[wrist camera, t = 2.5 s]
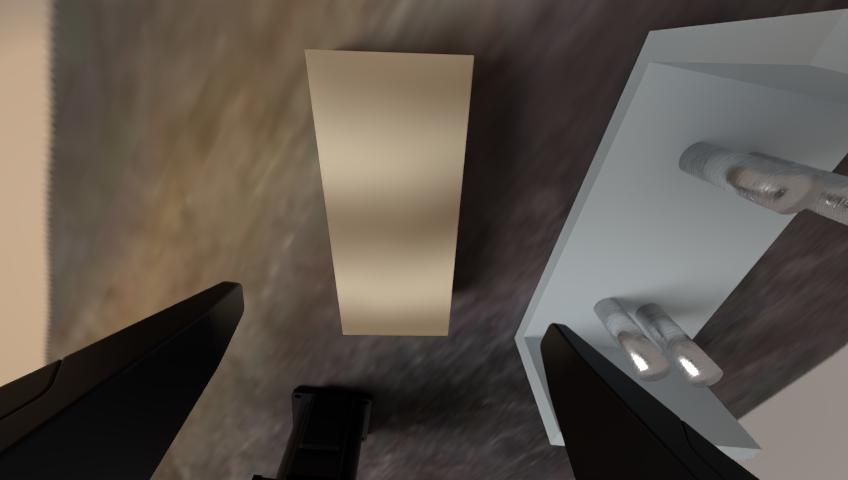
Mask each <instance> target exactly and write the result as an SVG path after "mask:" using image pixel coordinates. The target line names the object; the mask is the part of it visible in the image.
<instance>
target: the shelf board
mask: <svg viewBox="0 0 848 480" xmlns="http://www.w3.org/2000/svg"><path fill="white" fill-rule="evenodd" d="M305 57H306V64H307V71H308V79H309V86H310V94H311V101H312V108H313V116H314V123H315V131H316V138H317V145H318V153H319V160H320V168H321V175H322V182H323V190H324V197H325V205H326V212H327V219H328V227H329V234H330V241H331V249H332V256H333V264H334V271H335V278H336V286H337V293H338V301H339V308H340V315H341V323H342V330H343V335H424V336H448V327H449V316H450V306H451V295H452V284H453V274H454V263H455V253H456V242H457V232H458V221H459V210H460V200H461V189H462V179H463V168H464V158H465V147H466V136H467V126H468V115H469V105H470V94H471V84H472V73H473V62H474V55H449V54H421V53H393V52H364V51H336V50H308V49H305Z"/></svg>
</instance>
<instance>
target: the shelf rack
mask: <svg viewBox="0 0 848 480" xmlns="http://www.w3.org/2000/svg"><path fill="white" fill-rule="evenodd" d="M847 153H848V9H841V10H832V11H823V12H814V13H806V14H797V15H788V16H779V17H770V18H761V19H753V20H744V21H735V22H726V23H717V24H708V25H700V26H691V27H682V28H673V29H664V30H655V31H650V32H649V34H648V36H647V38H646V41H645V43H644V45H643V47H642V50H641V52H640V54H639V57H638V59H637V61H636V63H635V66H634V68H633V70H632V72H631V75H630V77H629V79H628V82H627V84H626V86H625V88H624V91H623V93H622V95H621V97H620V100H619V102H618V104H617V106H616V109H615V111H614V113H613V116H612V118H611V120H610V122H609V125H608V127H607V129H606V131H605V134H604V136H603V138H602V140H601V143H600V145H599V147H598V150H597V152H596V154H595V156H594V159H593V161H592V163H591V165H590V168H589V170H588V172H587V175H586V177H585V179H584V181H583V184H582V186H581V188H580V190H579V193H578V195H577V197H576V199H575V202H574V204H573V206H572V209H571V211H570V213H569V215H568V218H567V220H566V222H565V224H564V227H563V229H562V231H561V234H560V236H559V238H558V240H557V243H556V245H555V247H554V249H553V252H552V254H551V256H550V258H549V261H548V263H547V265H546V268H545V270H544V272H543V274H542V277H541V279H540V281H539V283H538V286H537V288H536V290H535V293H534V295H533V297H532V299H531V302H530V304H529V306H528V308H527V311H526V313H525V315H524V317H523V320H522V322H521V324H520V327H519V329H518V331H517V333H516V336H515V341H516V344H517V347H518V350H519V353H520V356H521V359H522V362H523V364H524V367H525V370H526V373H527V376H528V379H529V382H530V385H531V388H532V391H533V394H534V397H535V400H536V403H537V405H538V408H539V411H540V414H541V417H542V420H543V423H544V426H545V429H546V432H547V435H548V438H549V441H550V443H551V445H562V446H565V444H564V440H563V437H562V434H561V431H560V428H559V424H558V421H557V418H556V415H555V412H554V408H553V405H552V402H551V398H550V394H549V390H548V385H547V380H546V375H545V370H544V365H543V361H542V356H541V351H540V343H541V340H542V338H543V336H544V334H545V332H546V330H547V328H548V326H549V325H550V324H551V323H559V324H564V325H566V326H568V327H569V328H570V329H571V330H573V331H574V332H575V333H576V334H577V335H579V336H580V337H581V338H582V339H584V340H585V341H586V342H587V343H589V344H590V345H591V346H592V347H593V348H595V349H596V350H597V351H598V352H600V353H601V354H602V355H603V356H605V357H606V358H607V359H608V360H609V361H611V362H612V363H613V364H614V365H616V366H617V367H618V368H619V369H621V370H622V371H623V372H624V373H625V374H627V375H628V376H629V377H630V378H632V379H633V380H634V381H635V382H637V383H638V384H639V385H640V386H642V387H643V388H644V389H645V390H646V391H648V392H649V393H650V394H651V395H653V396H654V397H655V398H656V399H658V400H659V401H660V402H661V403H662V404H664V405H665V406H666V407H667V408H669V409H670V410H671V411H672V412H674V413H675V414H676V415H677V416H678V417H680V419H681V420H683V421H685V422H686V423H687V424H688V425H690V426H691V427H692V428H693V429H695V430H696V431H697V432H698V433H699V434H701V435H702V436H703V437H704V438H706V439H707V440H708V441H710V442H711V443H712V444H713V445H715V446H716V447H717V448H718V449H720V450H721V451H722V452H723V453H725V454H726V455H727V456H729V457H730V458H731V459H733V460H746V461H748V460H749V459H751V458H752V457H753V456H755V455H756V454H757V453H758V452H760V451H761V450H762V449H761V448H760V447H759V445H758V444H757V443H756V442H755V441H754V440H753V439H752V438H751V436H750V435H749V434H748V433H747V432H746V431H745V429H744V428H743V427H742V426H741V425H740V424H739V423H738V421H737V420H736V419H735V418H734V417H733V416H732V415H731V413H730V412H729V411H728V410H727V409H726V408H725V407H724V405H723V404H722V403H721V402H720V401H719V400H718V399H717V397H716V396H715V395H714V394H713V393H712V392H711V391H710V389H709V388H708V387H707V386H710V385H713V384H715V383H716V382H718V381H719V380H720V379H721V378H722V376H723V371H722V370H721V369H720V368H719V367H718V366H717V365H716V364H715V363H714V362H713V361H712V360H711V359H710V358H709V357H708V356H707V355H706V353H705V352H704V351H703V350H702V349H701V348H700V347H699V346H698V345H697V344H696V343H695V342H694V341H693V340H692V339H693V338H694V337H695V335H696V334H697V333H698V332H699V331H700V329H701V328H702V327H703V326H704V325H705V323H706V322H707V321H708V320H709V319H710V317H711V316H712V315H713V314H714V313H715V311H716V310H717V309H718V308H719V307H720V305H721V304H722V303H723V302H724V301H725V299H726V298H727V297H728V296H729V295H730V293H731V292H732V291H733V290H734V289H735V287H736V286H737V285H738V284H739V283H740V281H741V280H742V279H743V278H744V277H745V275H746V274H747V273H748V272H749V271H750V269H751V268H752V267H753V266H754V265H755V263H756V262H757V261H758V260H759V259H760V257H761V256H762V255H763V254H764V253H765V251H766V250H767V249H768V248H769V247H770V245H771V244H772V243H773V242H774V241H775V239H776V238H777V237H778V236H779V235H780V233H781V232H782V231H783V230H784V229H785V227H786V226H787V225H788V224H789V223H790V221H791V220H792V219H793V218H794V217H795V215H796V214H797V213H798V212H800V211H802V210H804V209H807V210H810V211H812V212H815V213H817V214H820V215H822V216H825V217H828V218H830V219H833V220H835V221H838V222H840V223H843V224H845V225H848V177H847V176H843V175H840V174H836V173H832V171H833V170H834V169H835V167H836V166H837V165H838V164H839V163H840V161H841V160H842V159H843V158H844V157H845V155H846V154H847Z"/></svg>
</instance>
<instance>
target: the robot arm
mask: <svg viewBox="0 0 848 480" xmlns="http://www.w3.org/2000/svg"><path fill="white" fill-rule="evenodd" d="M243 312H244V299H243V291H242V286H241V284H240V283H236V282H228V281H224V282H221V283H219V284H217V285H215V286H213V287H211V288H209V289H206V290H204V291H202V292H200V293H198V294H196V295H194V296H192V297H190V298H188V299H185V300H183V301H181V302H179V303H177V304H175V305H173V306H171V307H169V308H166V309H164V310H162V311H160V312H158V313H156V314H154V315H152V316H150V317H148V318H145V319H143V320H141V321H139V322H137V323H135V324H133V325H131V326H129V327H127V328H124V329H122V330H120V331H118V332H116V333H114V334H112V335H110V336H108V337H106V338H103V339H101V340H99V341H97V342H95V343H93V344H91V345H89V346H87V347H84V348H82V349H80V350H78V351H76V352H74V353H72V354H70V355H68V356H65V357H64V358H63V360H57V361H55V362H53V363H51V364H48V365H46V366H44V367H42V368H40V369H38V370H36V371H34V372H32V373H29V374H27V375H25V376H23V377H21V378H19V379H16V380H14V381H12V382H10V383H8V384H6V385H3V386H2V387H0V480H150V478H151V477H152V475H153V473H154V472H155V470H156V468H157V467H158V465H159V463H160V462H161V460H162V458H163V457H164V455H165V453H166V452H167V450H168V448H169V447H170V445H171V444H172V442H173V440H174V439H175V437H176V435H177V434H178V432H179V430H180V429H181V427H182V425H183V424H184V422H185V420H186V419H187V417H188V415H189V414H190V412H191V411H192V409H193V407H194V406H195V404H196V402H197V401H198V399H199V397H200V396H201V394H202V392H203V391H204V389H205V387H206V386H207V384H208V382H209V381H210V379H211V377H212V376H213V374H214V373H215V371H216V369H217V367H218V366H219V364H220V362H221V360H222V358H223V356H224V353H225V351H226V349H227V347H228V345H229V343H230V340H231V338H232V336H233V334H234V332H235V330H236V328H237V325H238V323H239V321H240V319H241V317H242V315H243ZM540 351H541V356H542V361H543V365H544V370H545V375H546V380H547V385H548V390H549V394H550V398H551V402H552V405H553V408H554V412H555V415H556V418H557V421H558V424H559V428H560V431H561V434H562V437H563V440H564V444H565V447H566V450H567V453H568V456H569V460H570V463H571V466H572V469H573V472H574V476H575V479H576V480H759V479H758V478H757V477H755V476H754V475H753V474H751V473H750V472H749V471H747V470H746V469H745V468H743V467H742V466H741V465H739V464H738V463H737V462H735V461H734V460H733V459H731V458H730V457H729V456H727V455H726V454H725V453H723V452H722V451H721V450H720V449H718V448H717V447H716V446H715V445H713V444H712V443H711V442H710V441H708V440H707V439H706V438H704V437H703V436H702V435H701V434H699V433H698V432H697V431H696V430H695V429H693V428H692V427H691V426H690V425H688V424H687V423H686V422H685V421H683V420H681V419H680V417H678V416H677V415H676V414H675V413H674V412H672V411H671V410H670V409H669V408H667V407H666V406H665V405H664V404H662V403H661V402H660V401H659V400H658V399H656V398H655V397H654V396H653V395H651V394H650V393H649V392H648V391H646V390H645V389H644V388H643V387H642V386H640V385H639V384H638V383H637V382H635V381H634V380H633V379H632V378H630V377H629V376H628V375H627V374H625V373H624V372H623V371H622V370H621V369H619V368H618V367H617V366H616V365H614V364H613V363H612V362H611V361H609V360H608V359H607V358H606V357H605V356H603V355H602V354H601V353H600V352H598V351H597V350H596V349H595V348H593V347H592V346H591V345H590V344H589V343H587V342H586V341H585V340H584V339H582V338H581V337H580V336H579V335H577V334H576V333H575V332H574V331H573V330H571V329H570V328H569V327H568V326H566V325H564V324H559V323H551V324H550V325H549V326H548V328H547V330H546V332H545V334H544V336H543V338H542V340H541V343H540ZM372 399H373V398H372V396H371V395H368V394H358V393H347V392H336V391H325V390H314V389H303V388H296V389H294V390H293V393H292V412H293V429H292V432H291V434H290V437H289V440H288V443H287V446H286V449H285V452H284V455H283V458H282V461H281V464H280V467H279V470H278V473H277V476H276V479H271V478H264V477H262V475H255V474H254V476H253V478H252V480H356V476H357V469H358V462H359V456H360V449H361V442H364V441H366V439H367V433H368V426H369V420H370V413H371V406H372Z"/></svg>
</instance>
